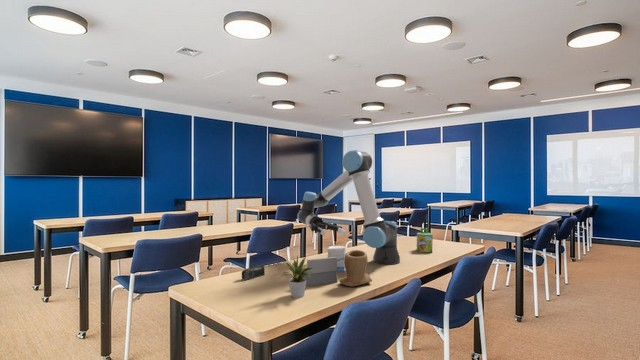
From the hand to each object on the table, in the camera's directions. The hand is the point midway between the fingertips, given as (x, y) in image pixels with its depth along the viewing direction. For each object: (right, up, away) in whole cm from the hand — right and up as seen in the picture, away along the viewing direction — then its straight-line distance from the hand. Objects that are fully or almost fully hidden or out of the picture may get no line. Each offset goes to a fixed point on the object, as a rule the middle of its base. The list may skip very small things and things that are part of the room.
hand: (335, 233), depth 184 cm
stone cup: (+9, -18, -30) cm, 36 cm away
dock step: (-10, -18, -22) cm, 30 cm away
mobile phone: (-41, -19, -19) cm, 48 cm away
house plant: (-18, -18, -46) cm, 53 cm away
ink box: (0, -18, -4) cm, 19 cm away
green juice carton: (+60, -18, +41) cm, 75 cm away
